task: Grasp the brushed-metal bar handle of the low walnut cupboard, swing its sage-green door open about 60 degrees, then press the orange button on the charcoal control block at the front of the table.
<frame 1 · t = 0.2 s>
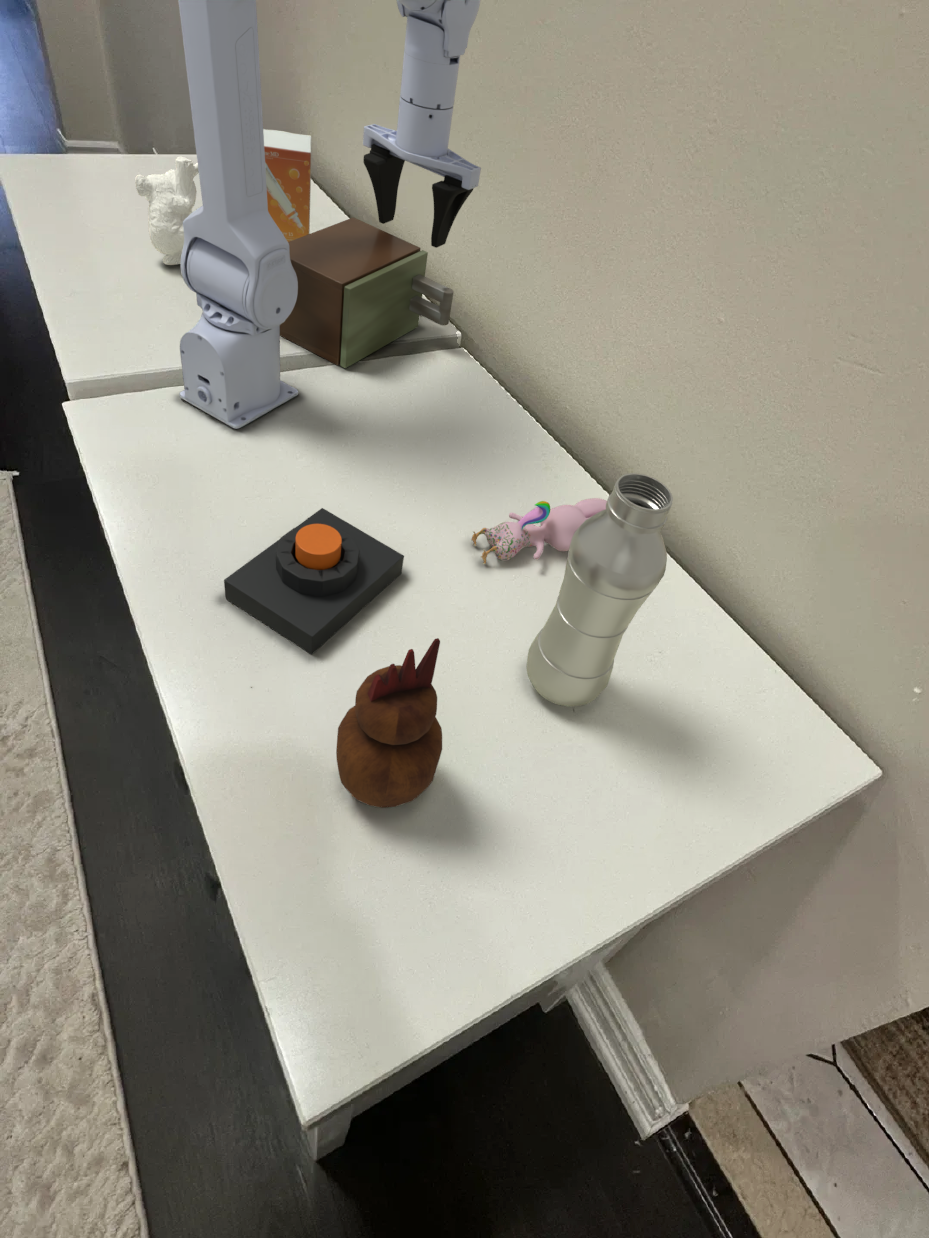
hand: (411, 232, 91), 10 cm above the table, tool pointing down, fingers open, 7 cm apart
small box: (279, 245, 106), on the table
control block: (317, 585, 65), on the table
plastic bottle: (560, 685, 62), on the table
koala figurine: (180, 262, 98), on the table
cupboard: (343, 328, 94), on the table
button: (318, 546, 61), point 5 cm above the table, slide at 0.1 cm
wooden figurine: (382, 783, 54), on the table
pink plastic animal figure: (545, 546, 73), on the table
cupboard door: (402, 317, 88), point 5 cm above the table, hinge at 0.0°
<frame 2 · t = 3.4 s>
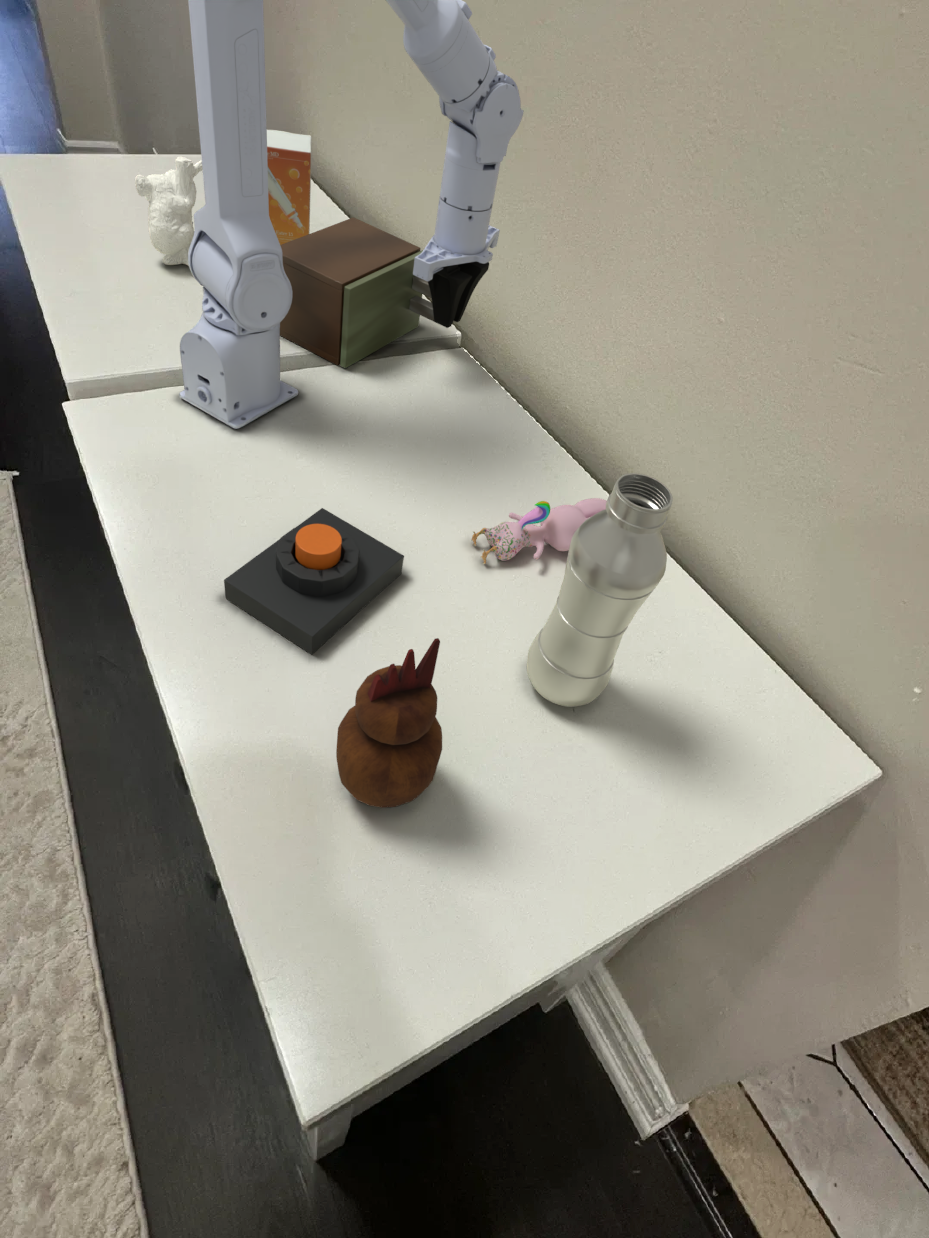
hand: (447, 321, 91), 4 cm above the table, tool pointing down, fingers closed on cupboard door
cupboard door: (402, 317, 88), point 5 cm above the table, hinge at 0.0°, touching gripper
everything else where it was.
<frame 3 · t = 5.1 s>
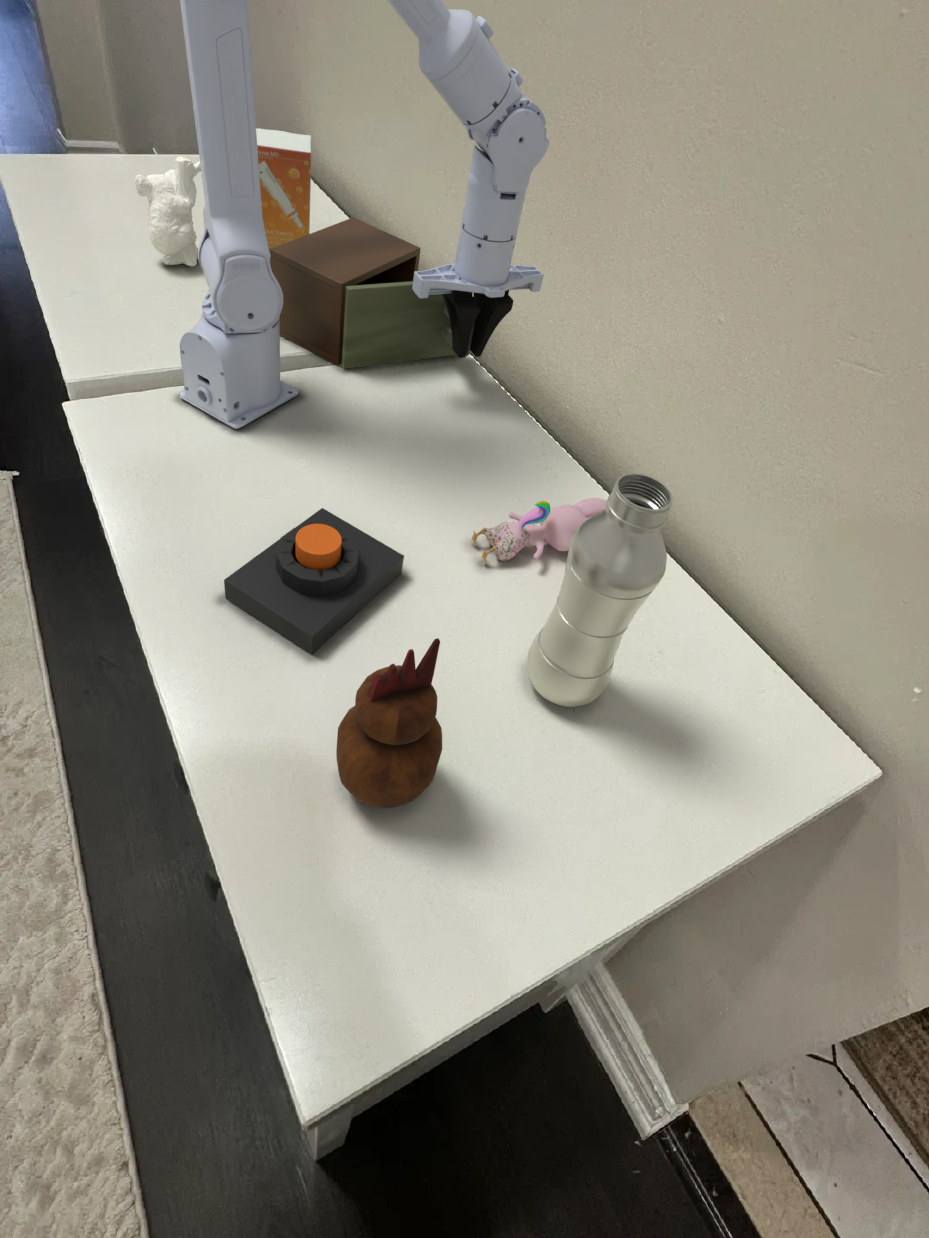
hand: (466, 353, 87), 4 cm above the table, tool pointing down, fingers closed on cupboard door
cupboard door: (414, 334, 86), point 5 cm above the table, hinge at 29.1°, touching gripper
everything else where it was.
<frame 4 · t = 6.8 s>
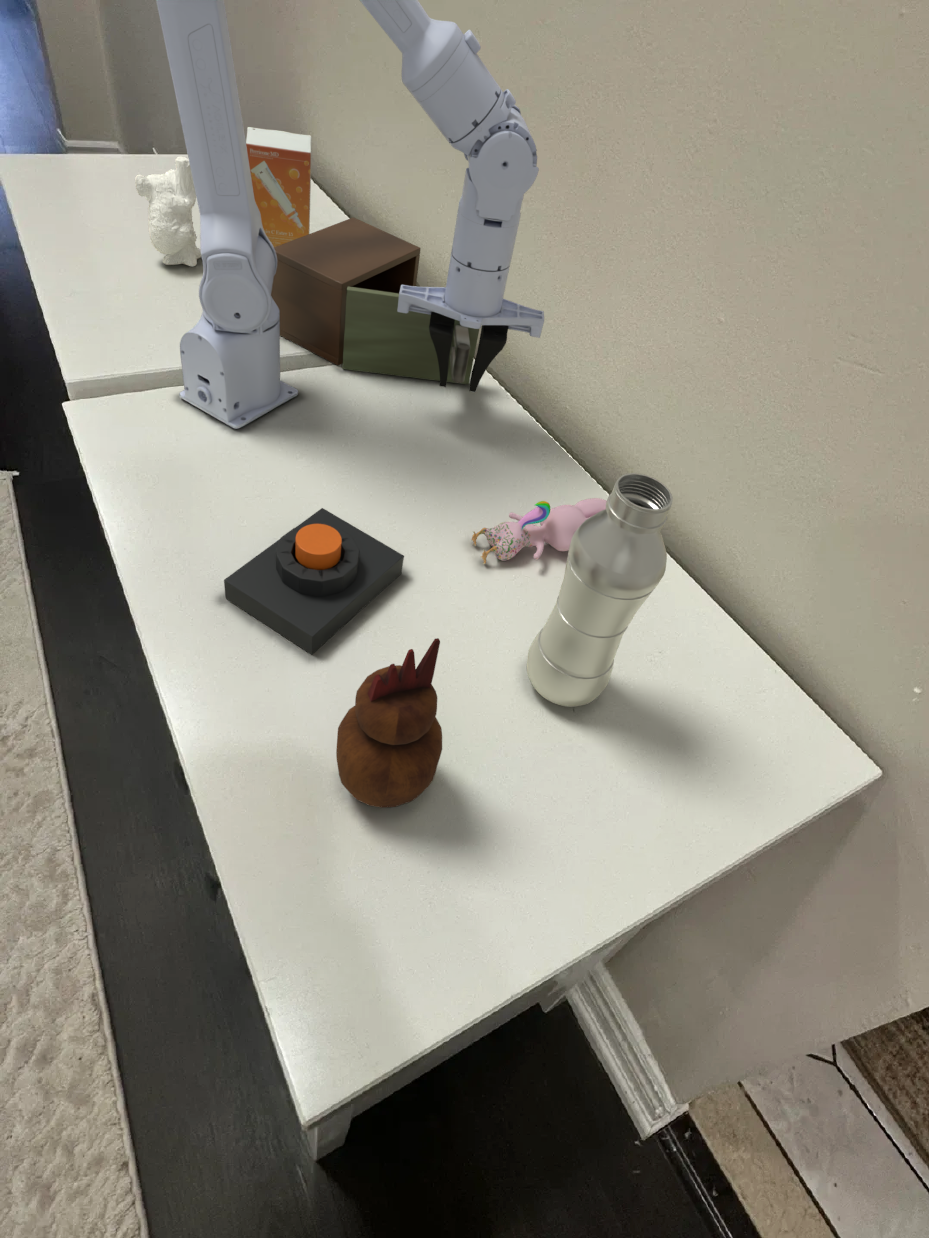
hand: (457, 384, 83), 4 cm above the table, tool pointing down, fingers open, 3 cm apart
cupboard door: (411, 350, 83), point 5 cm above the table, hinge at 54.4°
everything else where it was.
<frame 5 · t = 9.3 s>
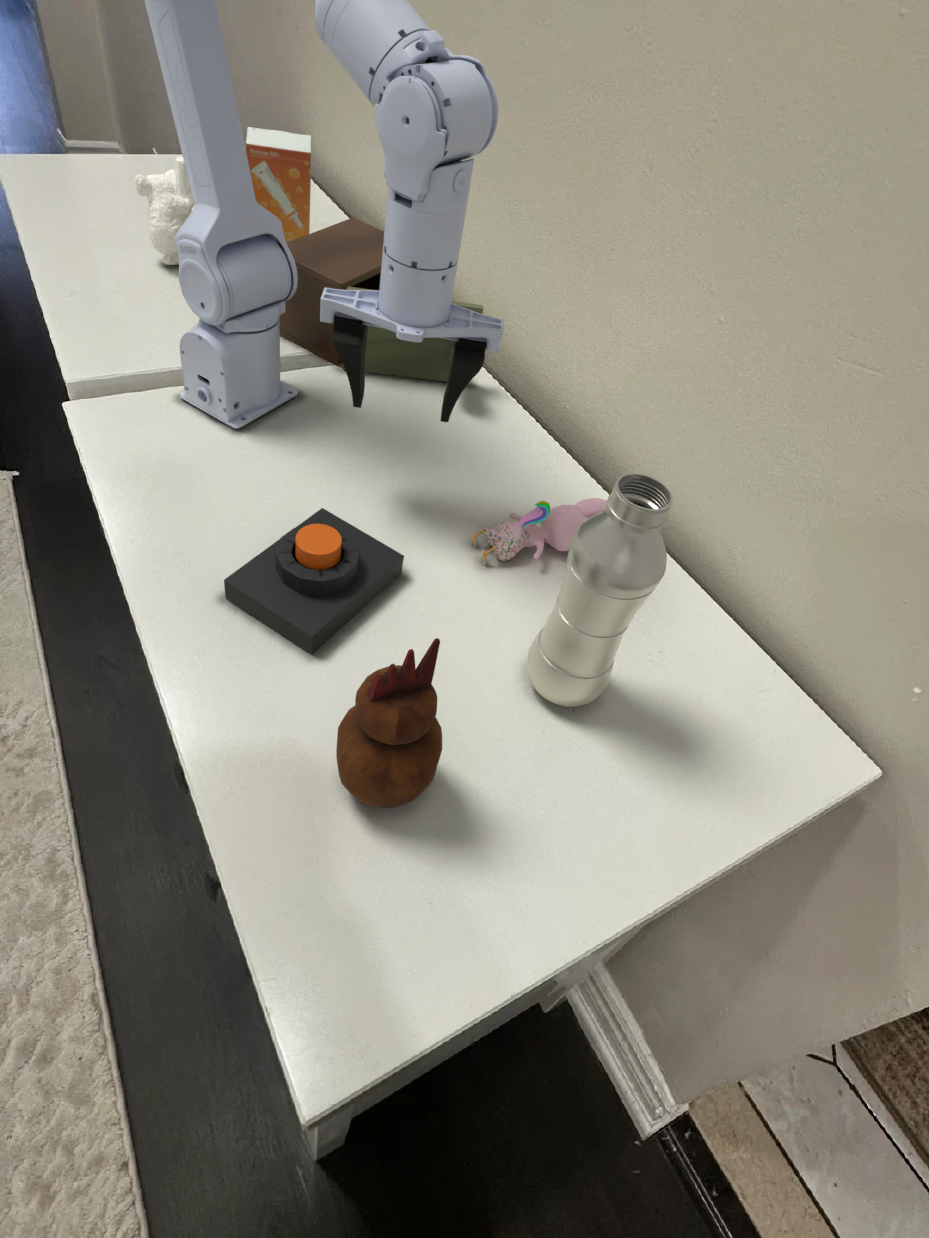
hand: (401, 408, 68), 9 cm above the table, tool pointing down, fingers open, 7 cm apart
nothing on the table moved.
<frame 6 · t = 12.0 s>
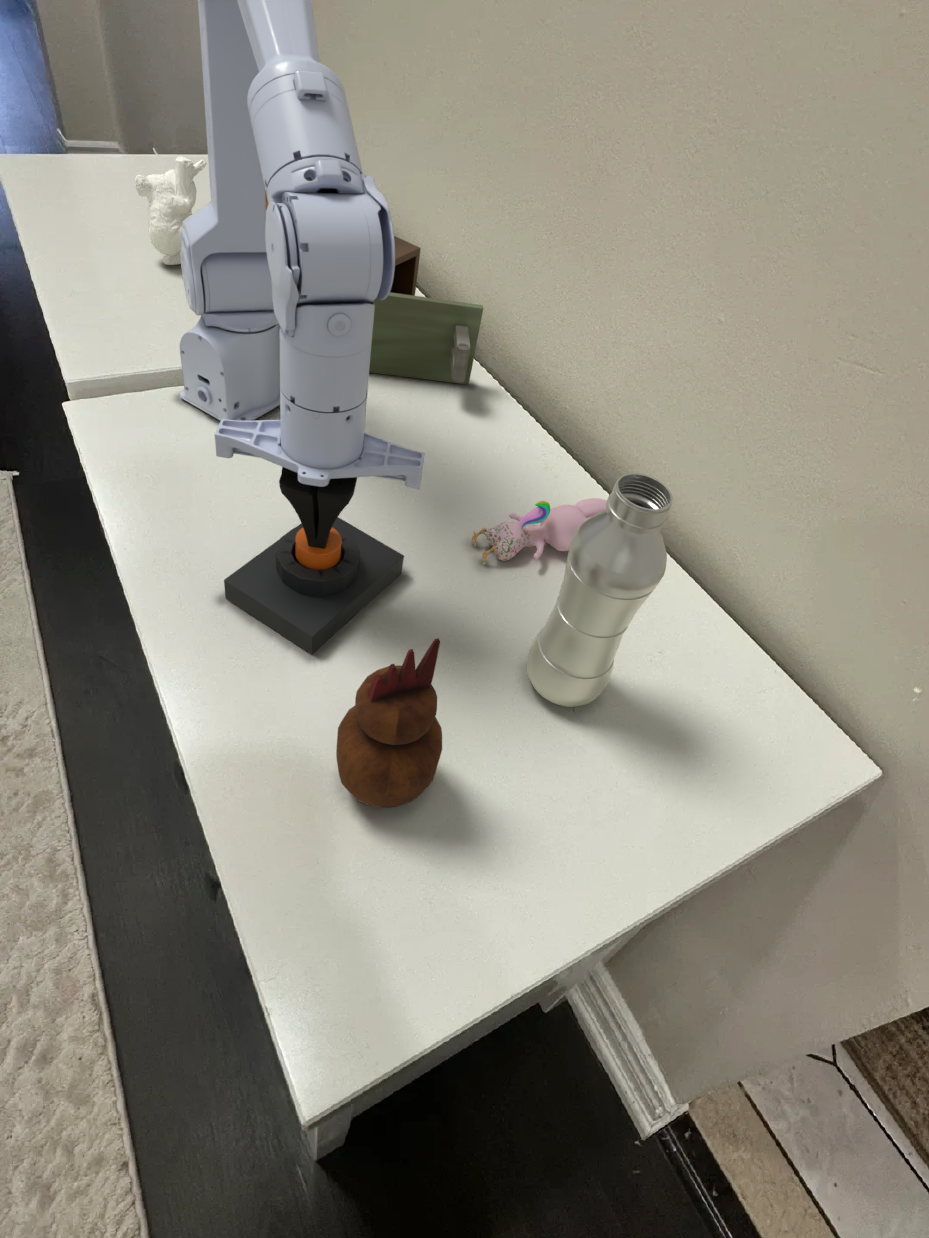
hand: (318, 539, 61), 5 cm above the table, tool pointing down, fingers closed, pressing on button
button: (318, 546, 61), point 5 cm above the table, slide at 0.1 cm, touching gripper
everything else where it was.
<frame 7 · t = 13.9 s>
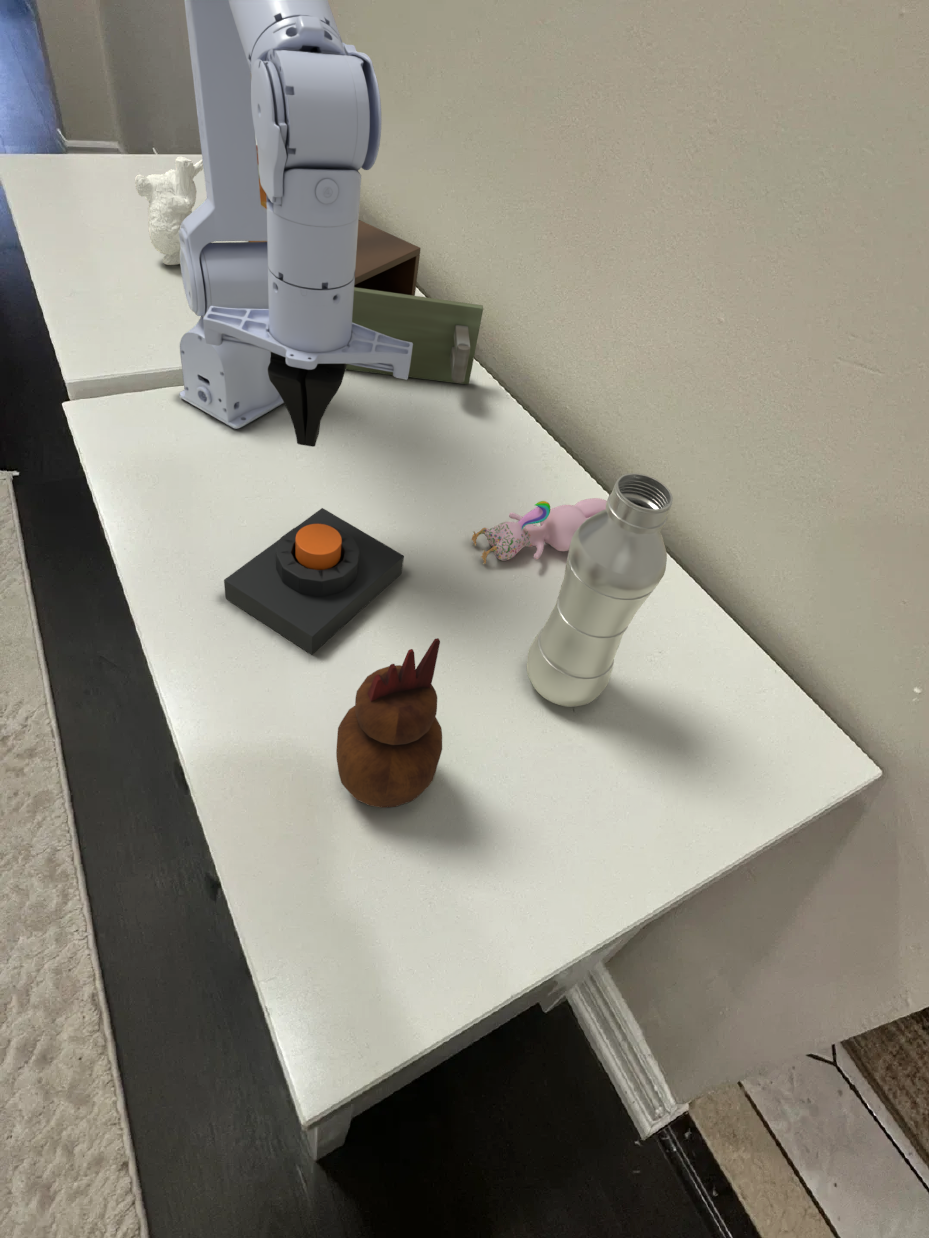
hand: (308, 438, 61), 10 cm above the table, tool pointing down, fingers closed
button: (318, 546, 61), point 5 cm above the table, slide at 0.1 cm
everything else where it was.
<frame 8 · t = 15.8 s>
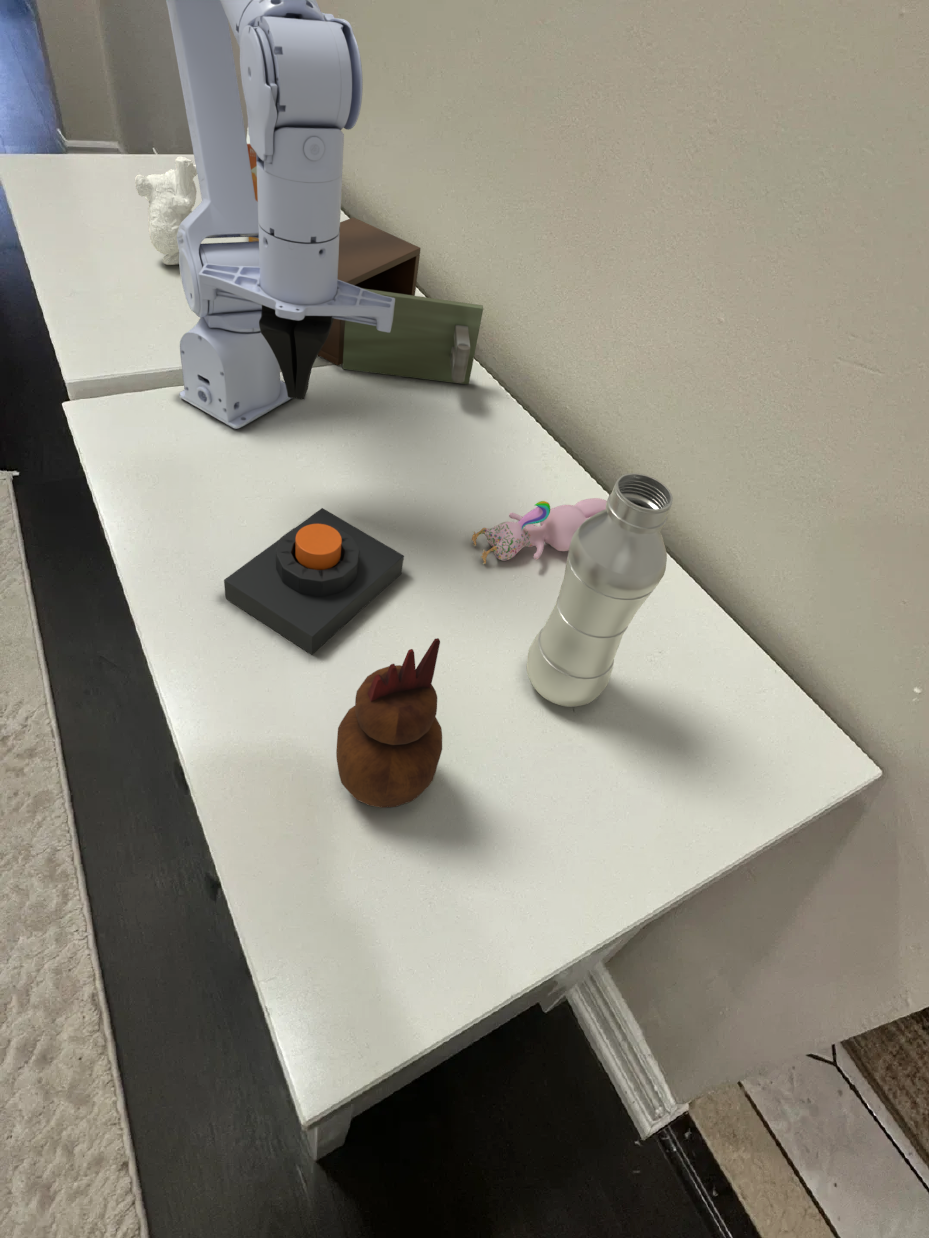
hand: (298, 392, 65), 10 cm above the table, tool pointing down, fingers closed
nothing on the table moved.
at the end: cupboard door at +54° (first picture: +0°); button pushed in 1.2 cm at the most during the clip, back to where it started at the end; button slide at 0.1 cm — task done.
